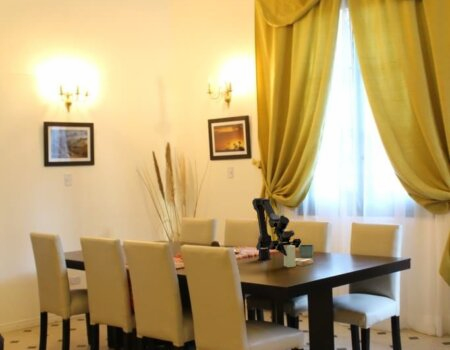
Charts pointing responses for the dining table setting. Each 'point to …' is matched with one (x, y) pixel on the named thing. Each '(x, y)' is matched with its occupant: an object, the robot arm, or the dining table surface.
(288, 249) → the tea tin
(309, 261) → the tan square coaster
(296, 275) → the dining table surface
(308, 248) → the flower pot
